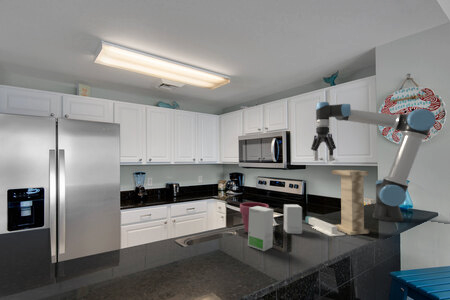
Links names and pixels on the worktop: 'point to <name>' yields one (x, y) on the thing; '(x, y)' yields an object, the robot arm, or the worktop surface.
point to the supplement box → (293, 219)
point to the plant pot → (245, 211)
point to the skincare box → (260, 228)
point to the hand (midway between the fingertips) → (322, 160)
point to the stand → (352, 202)
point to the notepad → (328, 232)
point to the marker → (321, 224)
